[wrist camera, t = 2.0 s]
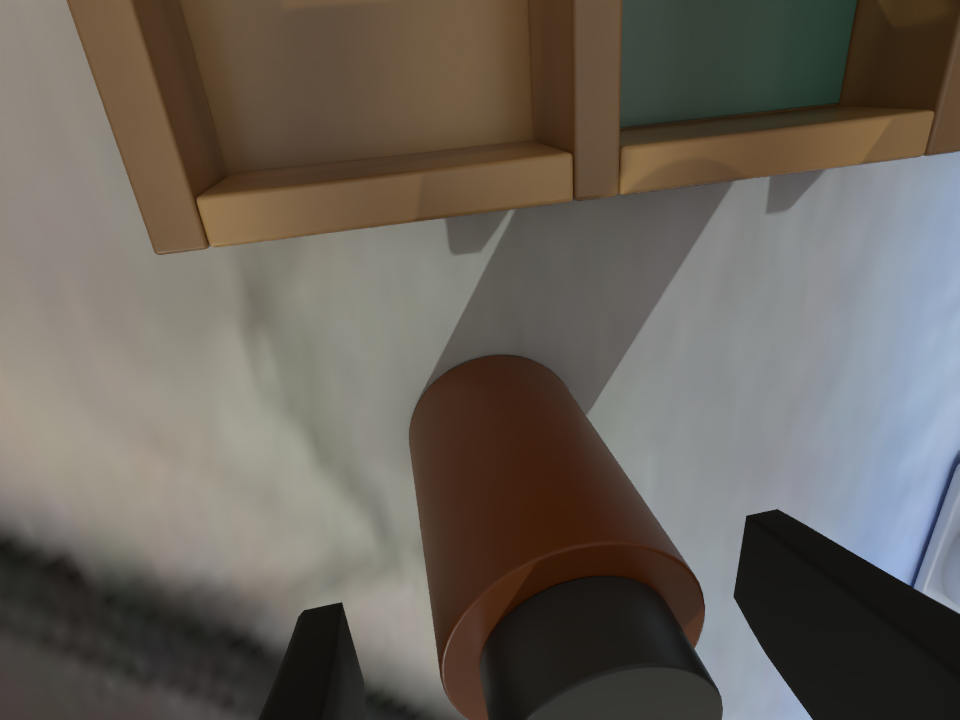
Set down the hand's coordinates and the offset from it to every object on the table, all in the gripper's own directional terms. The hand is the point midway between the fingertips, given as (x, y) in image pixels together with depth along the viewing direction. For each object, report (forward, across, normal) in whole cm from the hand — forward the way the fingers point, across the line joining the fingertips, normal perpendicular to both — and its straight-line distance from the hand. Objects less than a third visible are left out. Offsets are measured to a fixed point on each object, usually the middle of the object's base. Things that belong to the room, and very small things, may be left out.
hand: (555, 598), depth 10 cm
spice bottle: (+6, 0, 0) cm, 6 cm away
